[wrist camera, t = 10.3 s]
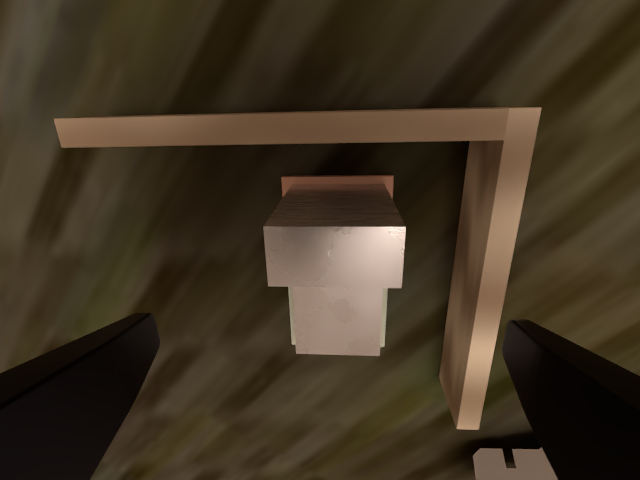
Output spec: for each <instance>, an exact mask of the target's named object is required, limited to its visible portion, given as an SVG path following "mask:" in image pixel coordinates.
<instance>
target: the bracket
mask: <svg viewBox="0 0 640 480" xmlns="http://www.w3.org/2000/svg"><path fill="white" fill-rule="evenodd" d="M263 231H264V243H265V254H266V266H267V278H268V286H283V287H292V289H293V307H294V324H295V342H296V354H329V355H364V356H380V338H381V319H382V299H383V288H402V275H403V261H404V248H405V234H406V226H405V224H404V222H403V220H402V218H401V216H400V214H399V212H398V210H397V208H396V206H395V204H394V202H393V200H392V198H391V196H390V194H389V192H388V190H387V188H386V186H385V184H291V186H290V187H289V189H288V190H287V192H286V193H285V195H284V196H283V198H282V199H281V201H280V202H279V204H278V205H277V207H276V208H275V210H274V211H273V213H272V214H271V216H270V217H269V219H268V220H267V222H266V223H265V225H264V226H263Z"/></svg>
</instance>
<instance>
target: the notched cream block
mask: <svg viewBox="0 0 640 480" xmlns="http://www.w3.org/2000/svg"><path fill="white" fill-rule="evenodd" d="M512 452H513V457H514V462H515V467H516V468H506V464H505V460H504V455H503V450H502V449H493V448H480V449H479V450H478V451H477V452H476V453H475V454H474V455H473V462H474V469H475V477H476V480H558V479H557V477H556V475H555V473H554V471H553V469H552V467H551V465H550V463H549V461H548V459H547V457H546V455H545V453H544V451H543V449H542V447H541V448H540V449H512Z"/></svg>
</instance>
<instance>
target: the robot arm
mask: <svg viewBox="0 0 640 480" xmlns="http://www.w3.org/2000/svg"><path fill="white" fill-rule="evenodd" d="M159 346H160V338H159V333H158V329H157V325H156V320H155V317H154V315H153V314H151V313H135V314H133V315H130V316H128V317H126V318H124V319H121V320H119V321H117V322H115V323H112V324H110V325H108V326H106V327H103V328H101V329H99V330H97V331H94V332H92V333H90V334H88V335H85V336H83V337H81V338H79V339H76V340H74V341H72V342H70V343H67V344H65V345H63V346H61V347H58V348H56V349H54V350H52V351H49V352H47V353H45V354H43V355H40V356H38V357H36V358H34V359H32V360H29V361H27V362H25V363H23V364H20V365H18V366H16V367H14V368H11V369H9V370H7V371H5V372H2V373H0V480H90V478H91V477H92V475H93V473H94V471H95V470H96V468H97V466H98V464H99V463H100V461H101V459H102V457H103V456H104V454H105V452H106V451H107V449H108V447H109V445H110V444H111V442H112V440H113V438H114V437H115V435H116V433H117V432H118V430H119V428H120V426H121V425H122V423H123V421H124V419H125V418H126V416H127V414H128V412H129V411H130V409H131V407H132V405H133V403H134V401H135V399H136V397H137V395H138V393H139V391H140V389H141V387H142V385H143V382H144V380H145V378H146V376H147V373H148V371H149V369H150V367H151V365H152V362H153V360H154V358H155V356H156V354H157V351H158V349H159ZM502 352H503V357H504V360H505V363H506V365H507V368H508V370H509V373H510V376H511V378H512V381H513V384H514V386H515V389H516V392H517V394H518V397H519V400H520V402H521V405H522V407H523V410H524V412H525V415H526V417H527V419H528V421H529V423H530V425H531V427H532V429H533V431H534V433H535V435H536V437H537V439H538V441H539V443H540V445H541V447H542V449H543V451H544V453H545V455H546V457H547V459H548V461H549V463H550V465H551V467H552V469H553V471H554V473H555V475H556V477H557V479H558V480H640V376H638V375H636V374H634V373H632V372H630V371H628V370H626V369H624V368H623V367H621V366H619V365H617V364H615V363H613V362H611V361H609V360H607V359H605V358H603V357H601V356H599V355H597V354H595V353H593V352H591V351H589V350H587V349H585V348H583V347H581V346H579V345H577V344H575V343H573V342H571V341H569V340H567V339H565V338H563V337H561V336H559V335H557V334H555V333H553V332H551V331H549V330H547V329H545V328H543V327H541V326H539V325H537V324H535V323H533V322H532V321H529V320H526V319H512V320H510V321H509V322H508V323H507V327H506V332H505V337H504V342H503V347H502Z"/></svg>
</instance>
